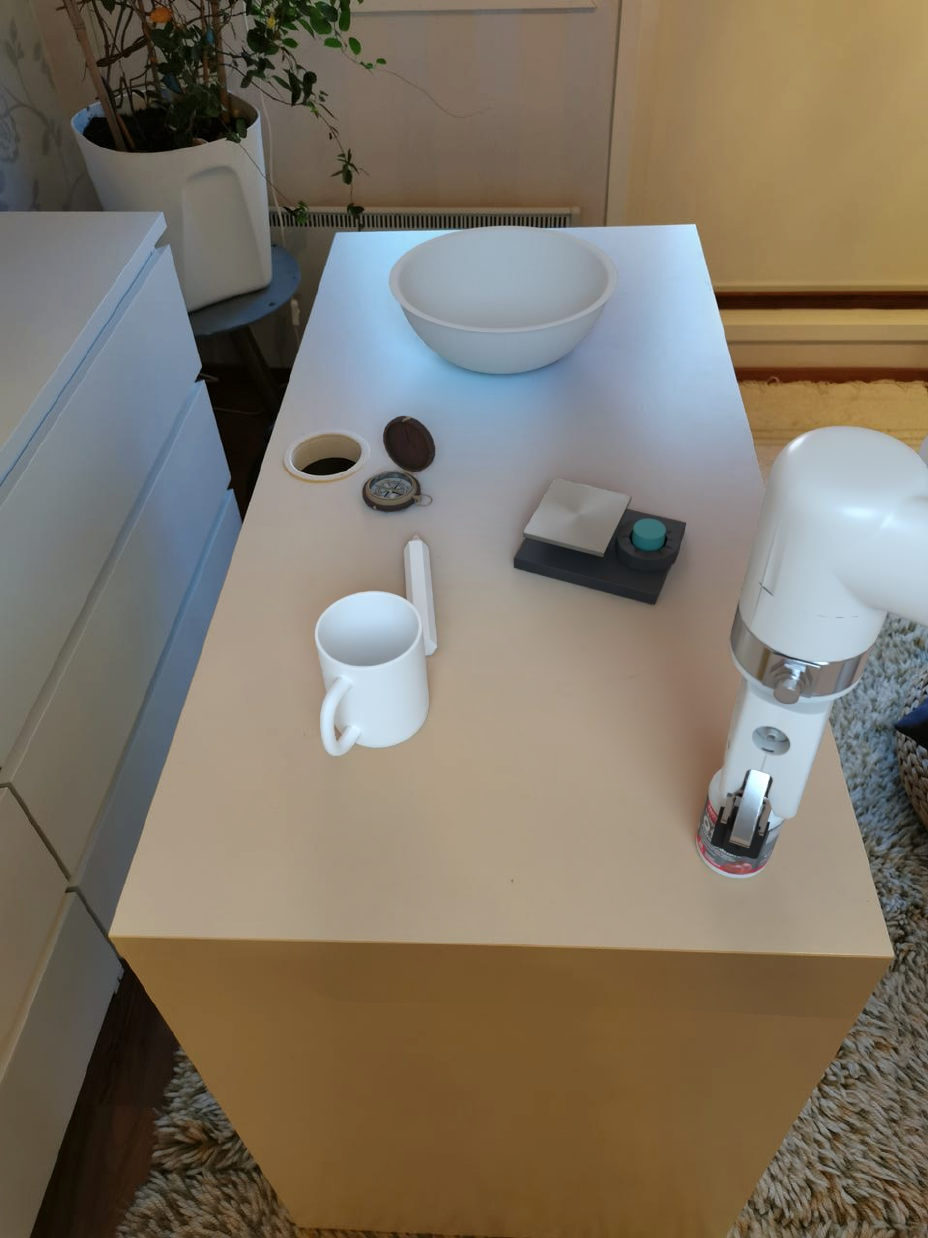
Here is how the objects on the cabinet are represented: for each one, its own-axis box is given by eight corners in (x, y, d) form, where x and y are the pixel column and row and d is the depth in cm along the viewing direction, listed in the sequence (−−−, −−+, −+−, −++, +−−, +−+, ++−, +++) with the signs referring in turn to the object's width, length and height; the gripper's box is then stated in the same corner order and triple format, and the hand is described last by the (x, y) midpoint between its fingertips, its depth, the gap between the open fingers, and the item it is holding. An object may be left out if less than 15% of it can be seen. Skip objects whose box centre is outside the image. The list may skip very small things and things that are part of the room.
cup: (446, 691, 81) (440, 607, 74) (380, 800, 74) (366, 719, 67) (362, 663, 84) (348, 579, 77) (289, 765, 77) (266, 683, 69)
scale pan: (631, 500, 93) (632, 495, 93) (603, 557, 88) (604, 552, 87) (554, 482, 96) (554, 477, 95) (522, 537, 90) (522, 532, 90)
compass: (351, 503, 100) (342, 446, 95) (392, 463, 104) (386, 406, 99) (415, 527, 97) (410, 469, 92) (455, 484, 101) (452, 427, 96)
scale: (689, 534, 95) (693, 510, 93) (659, 606, 88) (663, 583, 86) (551, 501, 99) (552, 478, 97) (513, 568, 92) (513, 544, 90)
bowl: (623, 407, 111) (631, 328, 103) (389, 413, 111) (381, 335, 104) (600, 295, 130) (605, 222, 123) (401, 301, 130) (394, 228, 123)
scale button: (667, 535, 91) (669, 522, 90) (659, 554, 89) (661, 542, 88) (637, 527, 92) (638, 515, 90) (628, 546, 90) (629, 534, 89)
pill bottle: (682, 858, 70) (702, 781, 63) (712, 805, 73) (733, 726, 66) (753, 894, 67) (782, 818, 60) (780, 838, 70) (810, 759, 64)
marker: (417, 543, 96) (428, 659, 85) (398, 537, 95) (406, 653, 84) (429, 525, 95) (441, 640, 83) (410, 518, 94) (419, 634, 82)
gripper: (848, 773, 47) (774, 940, 60) (887, 557, 58) (818, 738, 71) (698, 728, 49) (658, 898, 62) (763, 528, 60) (717, 708, 73)
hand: (744, 811), depth 67 cm, fingers closed on pill bottle, 5 cm apart
